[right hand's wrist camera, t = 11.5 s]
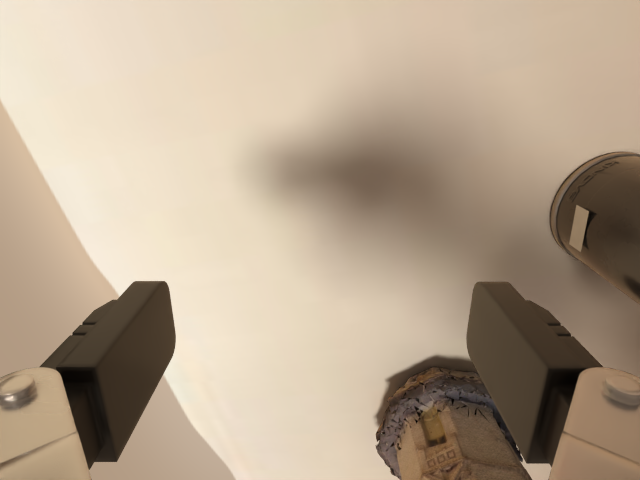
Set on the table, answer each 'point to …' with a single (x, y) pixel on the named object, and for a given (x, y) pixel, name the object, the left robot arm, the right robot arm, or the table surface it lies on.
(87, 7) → the table surface
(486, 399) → the miniature building
